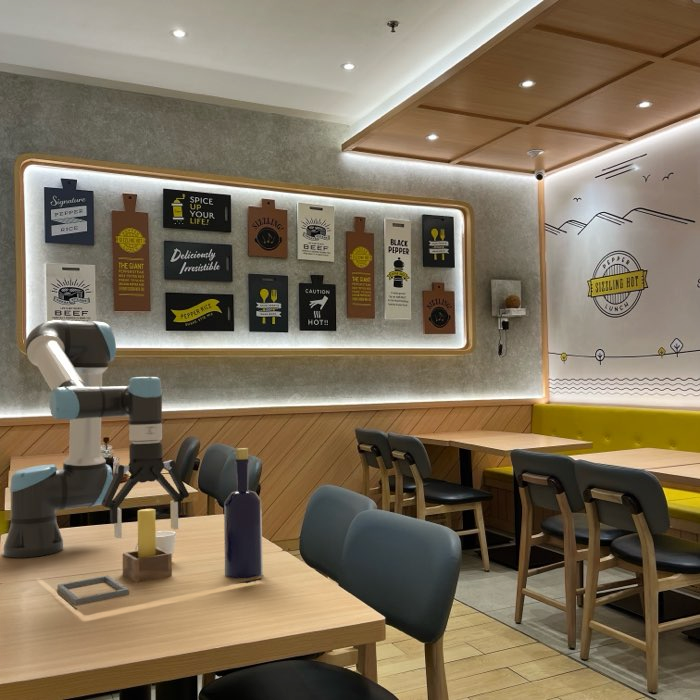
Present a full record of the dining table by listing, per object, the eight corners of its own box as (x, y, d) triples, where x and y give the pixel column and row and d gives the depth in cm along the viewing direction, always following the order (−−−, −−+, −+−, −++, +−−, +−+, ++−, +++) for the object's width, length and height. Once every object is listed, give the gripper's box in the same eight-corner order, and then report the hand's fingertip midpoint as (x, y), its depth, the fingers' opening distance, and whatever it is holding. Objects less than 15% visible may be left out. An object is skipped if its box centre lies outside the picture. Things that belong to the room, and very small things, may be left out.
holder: (122, 578, 165) (122, 553, 165) (157, 572, 170) (157, 547, 170) (135, 586, 158) (135, 559, 158) (171, 579, 163) (171, 553, 163)
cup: (177, 567, 173) (176, 535, 174) (135, 572, 170) (134, 538, 171) (175, 561, 180) (175, 529, 180) (134, 565, 177) (134, 533, 177)
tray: (57, 593, 154) (57, 584, 154) (107, 584, 160) (107, 575, 160) (75, 609, 142) (75, 599, 142) (128, 598, 149) (128, 589, 149)
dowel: (135, 574, 164) (135, 510, 165) (152, 571, 166) (151, 508, 167) (141, 578, 161) (141, 512, 162) (158, 575, 163) (157, 510, 164)
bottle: (271, 574, 165) (269, 447, 167) (249, 584, 157) (247, 451, 159) (238, 570, 169) (236, 446, 171) (216, 580, 161) (214, 450, 162)
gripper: (97, 446, 155) (97, 543, 154) (201, 439, 170) (202, 527, 169) (87, 445, 161) (87, 538, 160) (188, 437, 176) (190, 523, 175)
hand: (146, 532), depth 164 cm, fingers open, 13 cm apart
